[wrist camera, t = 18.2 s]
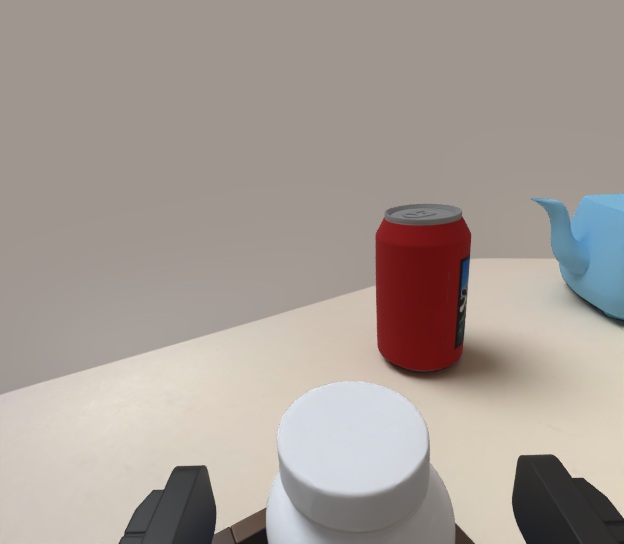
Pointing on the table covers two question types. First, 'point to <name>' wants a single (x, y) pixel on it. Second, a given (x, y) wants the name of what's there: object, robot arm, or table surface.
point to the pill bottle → (356, 472)
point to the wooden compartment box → (253, 537)
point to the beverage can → (422, 285)
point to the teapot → (591, 249)
